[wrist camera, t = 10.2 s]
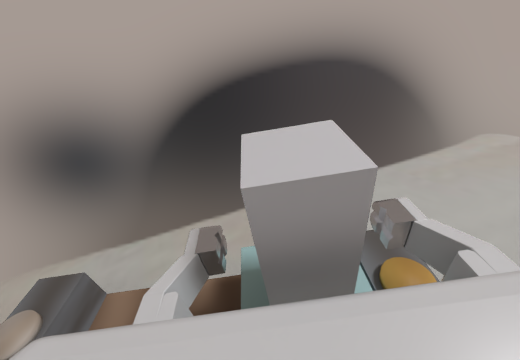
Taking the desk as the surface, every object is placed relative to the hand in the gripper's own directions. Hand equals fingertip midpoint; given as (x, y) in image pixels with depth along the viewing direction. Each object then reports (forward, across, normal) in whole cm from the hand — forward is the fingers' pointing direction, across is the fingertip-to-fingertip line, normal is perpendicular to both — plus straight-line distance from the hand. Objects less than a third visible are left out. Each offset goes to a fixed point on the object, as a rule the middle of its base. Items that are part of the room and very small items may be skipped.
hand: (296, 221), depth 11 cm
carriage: (-1, 0, +8) cm, 8 cm away
